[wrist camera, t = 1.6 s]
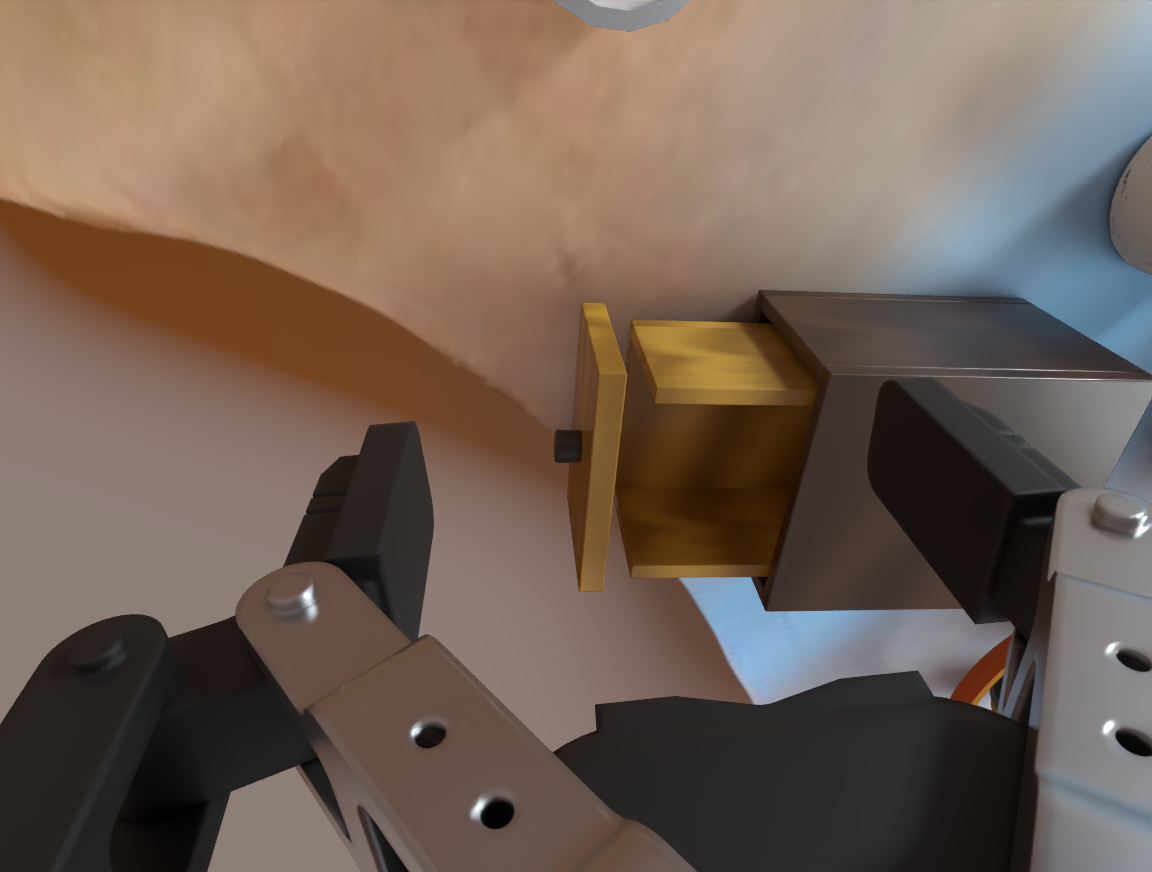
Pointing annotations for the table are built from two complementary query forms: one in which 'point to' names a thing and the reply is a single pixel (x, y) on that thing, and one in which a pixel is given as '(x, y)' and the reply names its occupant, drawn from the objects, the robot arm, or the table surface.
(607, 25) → the white faceted cylinder
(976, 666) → the headphones
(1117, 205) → the teacup with lid
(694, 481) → the wooden drawer
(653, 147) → the table surface
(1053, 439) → the cabinet
